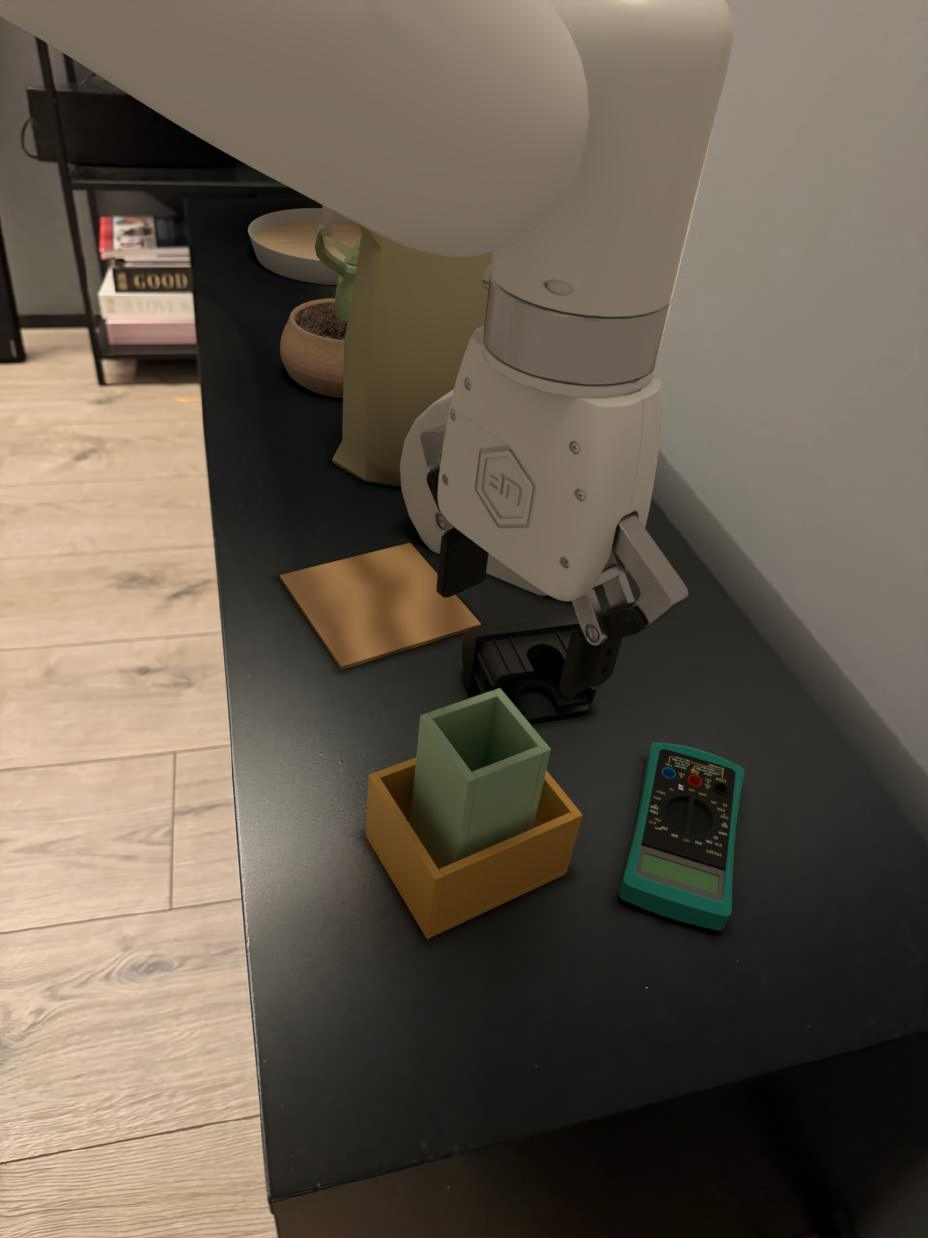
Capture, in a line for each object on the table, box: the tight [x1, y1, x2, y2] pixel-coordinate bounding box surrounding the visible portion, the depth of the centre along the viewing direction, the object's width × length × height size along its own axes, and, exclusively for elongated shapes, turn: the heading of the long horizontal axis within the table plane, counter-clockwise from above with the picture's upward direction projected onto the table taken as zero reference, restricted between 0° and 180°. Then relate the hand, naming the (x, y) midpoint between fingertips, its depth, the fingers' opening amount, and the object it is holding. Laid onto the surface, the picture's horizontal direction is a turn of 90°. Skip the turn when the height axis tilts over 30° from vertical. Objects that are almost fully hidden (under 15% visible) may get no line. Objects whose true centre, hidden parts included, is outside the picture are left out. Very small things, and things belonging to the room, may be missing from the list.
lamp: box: [247, 204, 361, 286], centre depth 143 cm, size 29×29×43 cm
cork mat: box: [279, 542, 482, 671], centre depth 86 cm, size 14×14×1 cm
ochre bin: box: [365, 757, 583, 940], centre depth 63 cm, size 11×9×7 cm
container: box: [331, 223, 493, 487], centre depth 99 cm, size 24×17×30 cm
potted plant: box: [279, 224, 361, 399], centre depth 114 cm, size 22×18×30 cm
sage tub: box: [410, 688, 552, 869], centre depth 61 cm, size 6×6×12 cm
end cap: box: [461, 614, 598, 724], centre depth 77 cm, size 10×7×7 cm
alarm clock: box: [400, 389, 548, 597], centre depth 88 cm, size 21×8×20 cm, turn 61°
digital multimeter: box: [618, 741, 745, 931], centre depth 67 cm, size 7×15×3 cm, turn 163°
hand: (518, 633), depth 50 cm, fingers open, 9 cm apart
